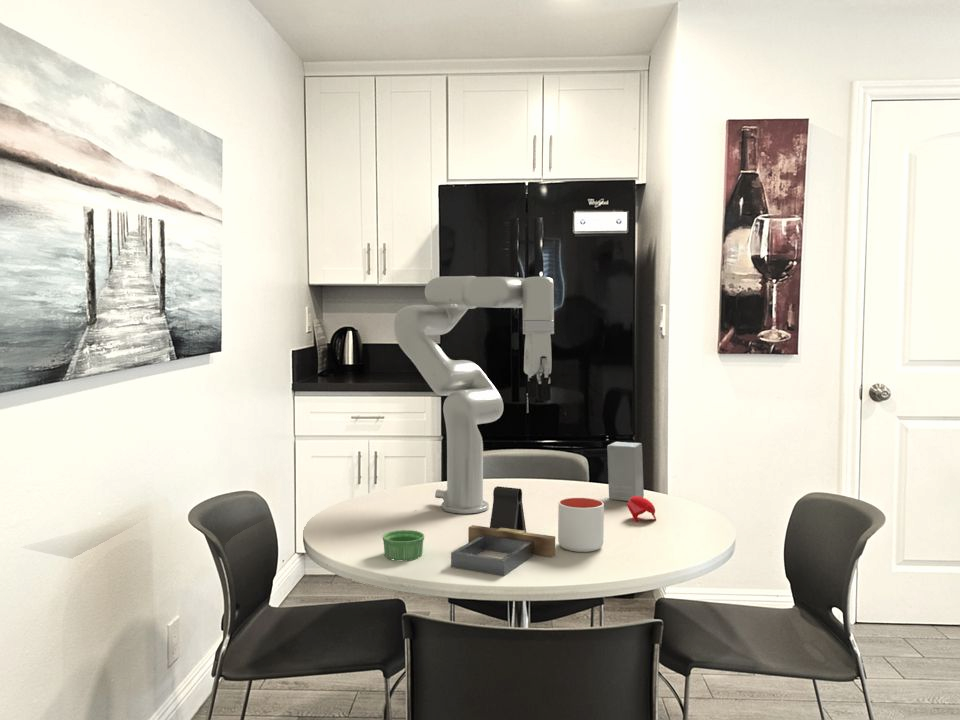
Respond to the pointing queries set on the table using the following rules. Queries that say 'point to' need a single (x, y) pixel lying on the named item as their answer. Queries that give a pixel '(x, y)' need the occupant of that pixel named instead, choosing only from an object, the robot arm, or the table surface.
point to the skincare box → (625, 470)
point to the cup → (580, 524)
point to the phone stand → (507, 509)
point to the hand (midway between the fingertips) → (538, 398)
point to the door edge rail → (542, 543)
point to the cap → (640, 507)
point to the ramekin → (403, 544)
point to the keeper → (472, 561)
